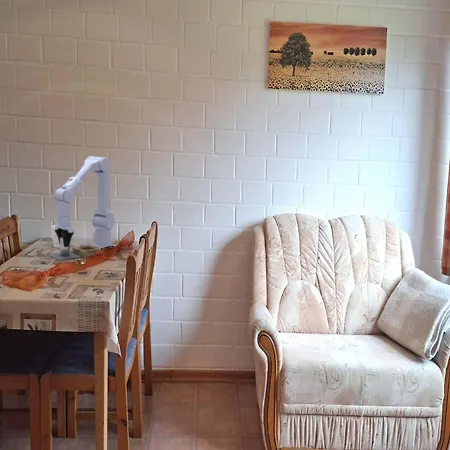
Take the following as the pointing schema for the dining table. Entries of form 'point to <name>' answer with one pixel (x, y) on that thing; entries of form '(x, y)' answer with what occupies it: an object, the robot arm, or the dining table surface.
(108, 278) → the dining table surface
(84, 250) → the socket block
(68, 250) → the steel peg
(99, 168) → the robot arm
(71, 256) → the slate mat
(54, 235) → the white cup
